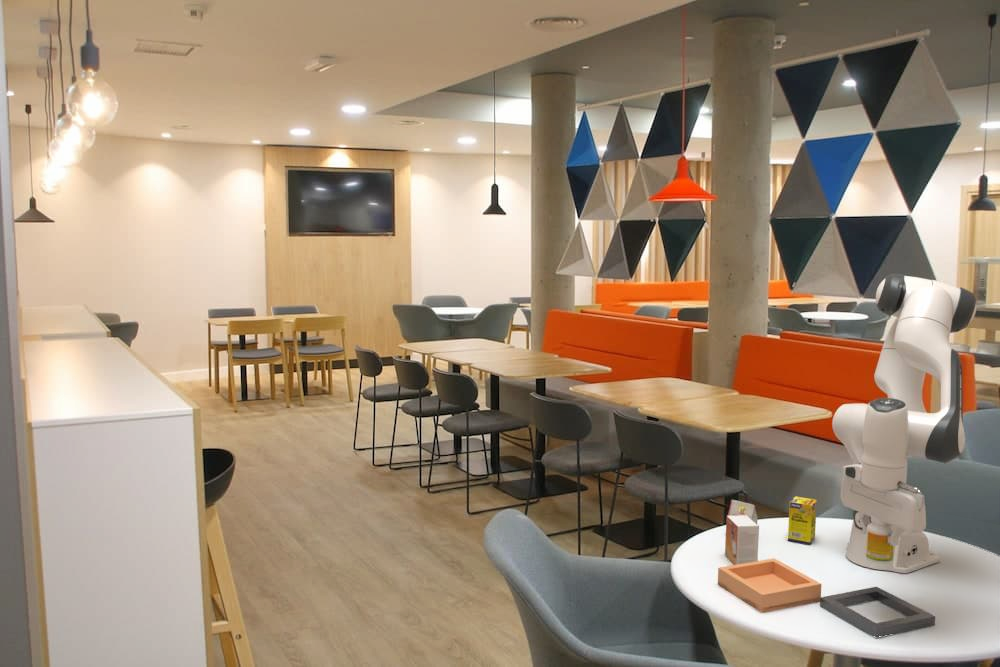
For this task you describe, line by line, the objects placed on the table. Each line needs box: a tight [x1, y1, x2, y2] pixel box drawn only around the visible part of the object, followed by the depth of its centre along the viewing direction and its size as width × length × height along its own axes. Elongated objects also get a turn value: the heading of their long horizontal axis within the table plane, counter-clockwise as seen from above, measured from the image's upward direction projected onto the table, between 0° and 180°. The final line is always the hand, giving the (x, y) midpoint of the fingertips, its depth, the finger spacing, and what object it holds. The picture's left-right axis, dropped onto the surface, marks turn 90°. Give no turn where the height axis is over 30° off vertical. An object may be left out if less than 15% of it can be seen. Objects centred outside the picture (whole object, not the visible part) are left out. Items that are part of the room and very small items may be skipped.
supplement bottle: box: [865, 516, 894, 564], centre depth 179 cm, size 5×5×10 cm
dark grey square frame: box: [819, 586, 936, 637], centre depth 181 cm, size 16×16×2 cm
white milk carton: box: [727, 499, 758, 525], centre depth 227 cm, size 4×7×10 cm, turn 45°
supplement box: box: [787, 495, 818, 546], centre depth 225 cm, size 6×6×11 cm
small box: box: [724, 515, 760, 565], centre depth 211 cm, size 8×6×10 cm
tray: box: [717, 557, 822, 613], centre depth 193 cm, size 16×16×4 cm
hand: (880, 539), depth 179 cm, fingers closed on supplement bottle, 5 cm apart
